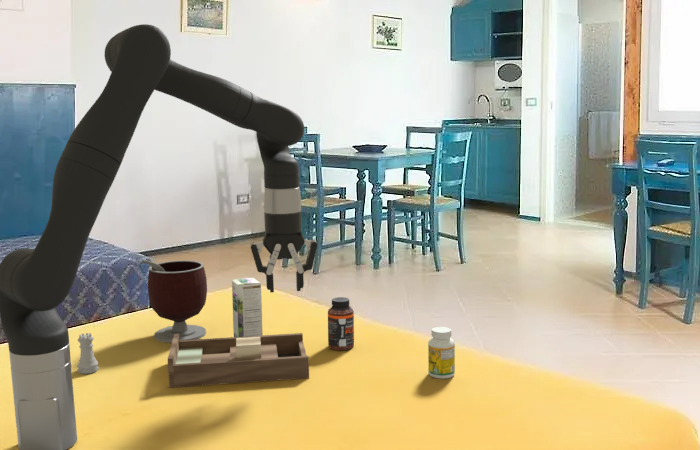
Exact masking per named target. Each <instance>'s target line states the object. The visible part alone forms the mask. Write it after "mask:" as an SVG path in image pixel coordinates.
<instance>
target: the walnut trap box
mask: <svg viewBox="0 0 700 450" xmlns="http://www.w3.org/2000/svg"><path fill="white" fill-rule="evenodd" d="M248 337H260V340H261V359H246V360H237V353H236V338H248ZM170 344H171V345H170V349H169V351H168V357H167V371H168V372H167V373H168V385H169V386H168V387H169V388H183V387H184V388H188V387H199V386H212V385H213V386H216V385H226V384H227V385H228V384H243V383H255V382H256V383H258V382H273V381H285V380H287V381H288V380H289V381H290V380H303V379H310V363H309V362H310V361H309V360H310V359H309V358H310V357H309V355H307V353H306V348H305V344H304V338H303V332H296V333H281V334H262V336H245V337H234V336H233V337H232V336H231V337H217V338H215V337H214V338H213V337H212V338H200V339H196V340H180V341H179V334H174V337H173V340H172V343H170Z"/></svg>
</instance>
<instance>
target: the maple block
mask: <svg viewBox="0 0 700 450" xmlns="http://www.w3.org/2000/svg"><path fill="white" fill-rule="evenodd" d="M236 353H237V360H246V359H261V340H260V337H248V338H236Z"/></svg>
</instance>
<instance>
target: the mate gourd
mask: <svg viewBox="0 0 700 450" xmlns="http://www.w3.org/2000/svg"><path fill="white" fill-rule="evenodd" d="M141 263H142V264H147V265H149V267H148V270H149V271H148V275H147V294H148V300H149V303H150V306H151V309H152V310H153V311H154V312H155V314H156V315H157V316H158V317H159V318H161V319H166V320H168V321H172V322H173V325H171V326H167V327H163V328H160V329H158V330H157V331H155V332H154V334H153V335H154V339H155V340H156V341H158V342H160V343H167V344H172V340H173V337H174V334H179V341H180V340H196V339H203V337H205V336H206V334H207V330H206V328H205V327H204V326H201V325H197V324H187V322H186V321H187V320H188V319H191V318H193V317H195V316H197V315H199V314H200V313H201V311H202V310H203V308H204V306H206V302H207V296H208V282H207V280H208V279H207V274H206V270H205V267H204V263H203V262H201V261H196V260H170V261H163V262H158V263H156V262H154V261H150V260H147V259H142V260H141Z"/></svg>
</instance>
